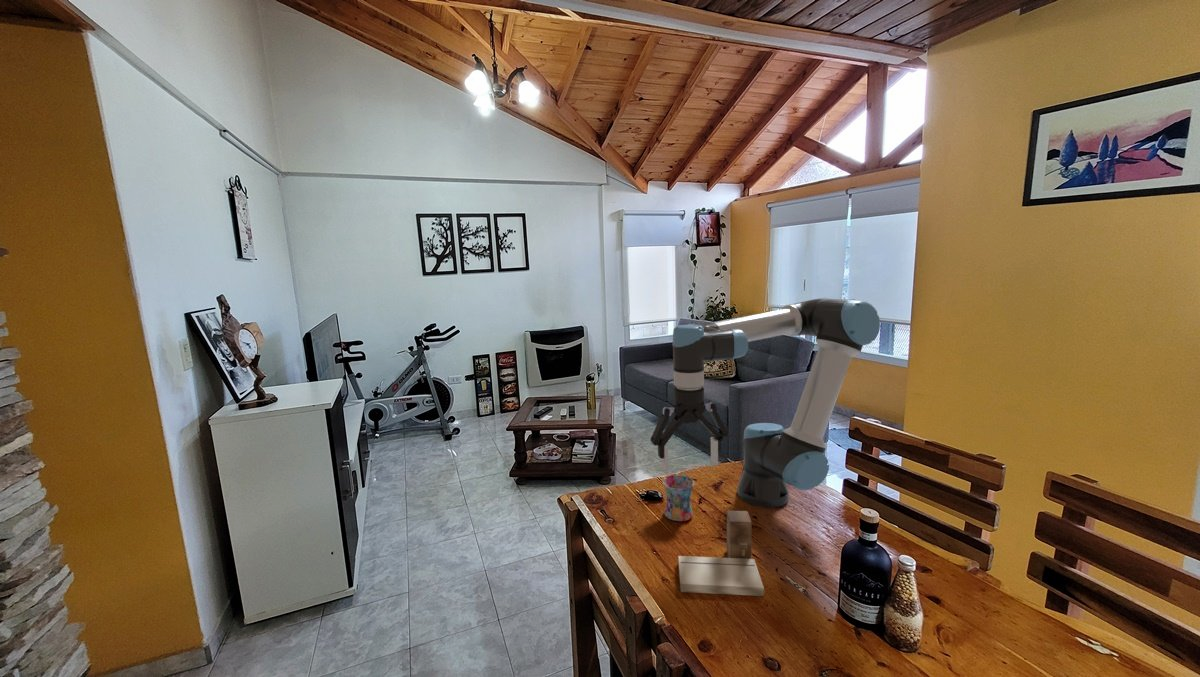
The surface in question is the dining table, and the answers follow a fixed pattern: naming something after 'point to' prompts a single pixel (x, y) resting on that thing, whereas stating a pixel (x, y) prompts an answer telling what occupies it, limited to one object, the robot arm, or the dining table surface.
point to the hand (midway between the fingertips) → (689, 466)
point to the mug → (678, 497)
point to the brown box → (739, 534)
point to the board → (719, 576)
